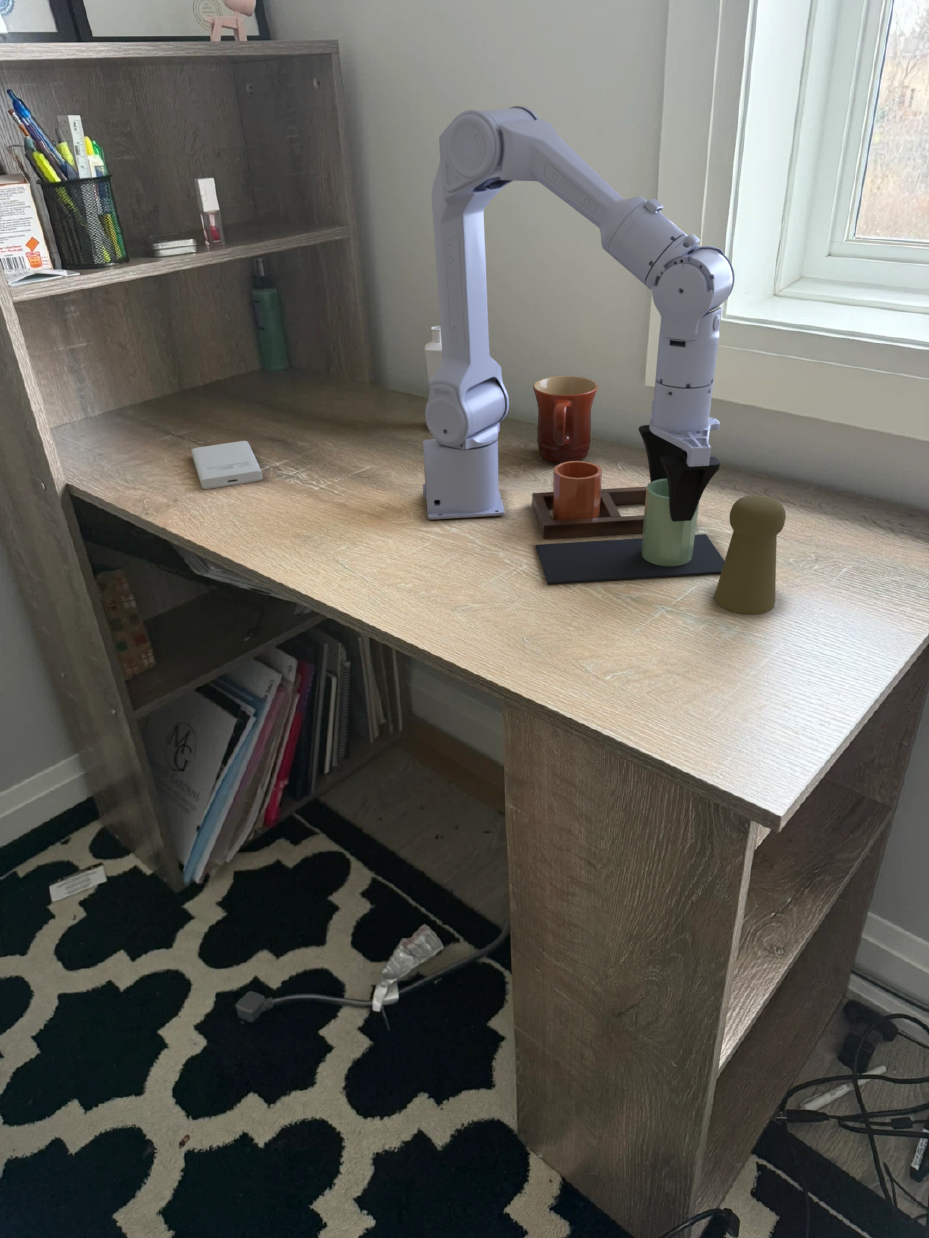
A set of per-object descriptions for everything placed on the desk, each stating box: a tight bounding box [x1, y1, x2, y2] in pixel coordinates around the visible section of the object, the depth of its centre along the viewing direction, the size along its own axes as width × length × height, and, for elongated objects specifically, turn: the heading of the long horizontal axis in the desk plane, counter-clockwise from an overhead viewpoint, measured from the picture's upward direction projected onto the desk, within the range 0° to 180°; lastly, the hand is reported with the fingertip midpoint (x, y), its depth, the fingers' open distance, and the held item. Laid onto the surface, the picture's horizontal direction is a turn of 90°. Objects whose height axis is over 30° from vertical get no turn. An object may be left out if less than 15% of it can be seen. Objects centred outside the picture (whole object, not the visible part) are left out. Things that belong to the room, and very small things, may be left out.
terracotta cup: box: [551, 460, 603, 521], centre depth 107 cm, size 6×6×6 cm
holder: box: [531, 486, 647, 540], centre depth 109 cm, size 18×9×2 cm, turn 94°
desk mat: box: [535, 533, 725, 586], centre depth 100 cm, size 20×9×1 cm, turn 94°
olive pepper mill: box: [713, 494, 787, 615], centre depth 89 cm, size 6×6×11 cm
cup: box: [641, 478, 700, 566], centre depth 98 cm, size 6×6×8 cm
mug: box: [532, 375, 599, 465], centre depth 123 cm, size 12×9×10 cm
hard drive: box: [190, 440, 264, 490], centre depth 126 cm, size 2×8×12 cm
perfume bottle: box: [424, 325, 442, 384], centre depth 135 cm, size 5×4×15 cm
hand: (671, 504), depth 97 cm, fingers open, 7 cm apart
